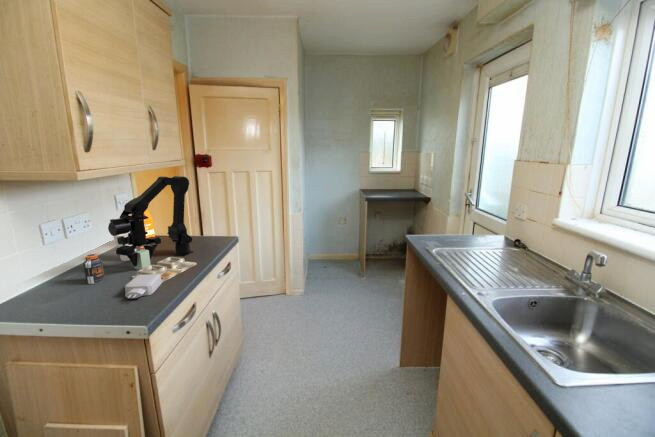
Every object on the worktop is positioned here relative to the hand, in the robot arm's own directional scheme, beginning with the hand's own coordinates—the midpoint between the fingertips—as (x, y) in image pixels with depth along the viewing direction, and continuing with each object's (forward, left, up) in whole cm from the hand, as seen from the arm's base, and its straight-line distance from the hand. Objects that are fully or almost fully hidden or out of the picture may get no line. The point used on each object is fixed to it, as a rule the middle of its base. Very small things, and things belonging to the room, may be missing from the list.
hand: (142, 263), depth 138 cm
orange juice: (-26, -27, -2) cm, 38 cm away
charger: (+20, +20, -2) cm, 29 cm away
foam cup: (-7, -16, -2) cm, 18 cm away
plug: (0, 0, -2) cm, 2 cm away
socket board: (0, +13, -2) cm, 13 cm away
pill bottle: (+17, -6, -2) cm, 18 cm away
